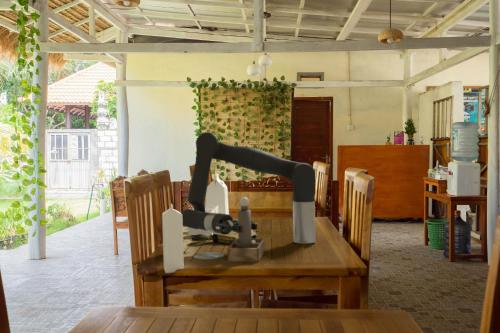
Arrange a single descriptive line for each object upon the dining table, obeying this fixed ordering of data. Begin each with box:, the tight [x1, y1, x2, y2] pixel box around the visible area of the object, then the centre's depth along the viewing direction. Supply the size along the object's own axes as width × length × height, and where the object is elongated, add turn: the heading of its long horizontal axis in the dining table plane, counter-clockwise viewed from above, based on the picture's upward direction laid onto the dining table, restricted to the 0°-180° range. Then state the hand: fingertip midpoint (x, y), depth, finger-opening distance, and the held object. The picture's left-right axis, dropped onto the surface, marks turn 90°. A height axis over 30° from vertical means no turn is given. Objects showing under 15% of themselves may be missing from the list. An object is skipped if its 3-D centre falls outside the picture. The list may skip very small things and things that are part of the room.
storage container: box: [187, 205, 218, 236], centre depth 227 cm, size 25×11×11 cm, turn 177°
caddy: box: [226, 237, 266, 263], centre depth 168 cm, size 11×18×6 cm, turn 172°
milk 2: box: [205, 173, 230, 215], centre depth 259 cm, size 12×12×26 cm
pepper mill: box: [237, 196, 252, 248], centre depth 163 cm, size 5×5×22 cm
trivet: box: [193, 251, 225, 260], centre depth 169 cm, size 11×11×1 cm
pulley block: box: [191, 229, 260, 245], centre depth 198 cm, size 14×6×30 cm
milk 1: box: [161, 203, 185, 274], centre depth 153 cm, size 6×6×22 cm
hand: (249, 228), depth 161 cm, fingers open, 6 cm apart
